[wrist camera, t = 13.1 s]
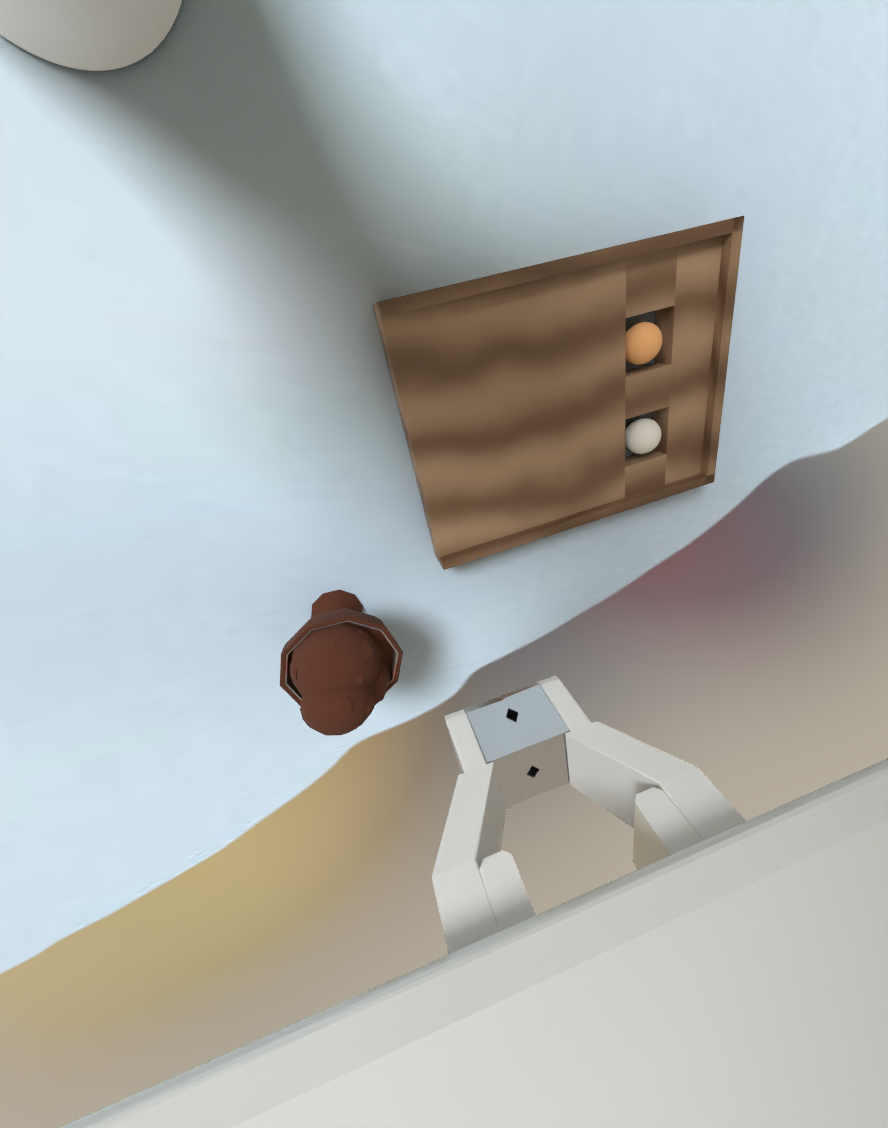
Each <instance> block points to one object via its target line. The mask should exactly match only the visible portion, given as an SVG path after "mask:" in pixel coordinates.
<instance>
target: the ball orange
mask: <svg viewBox="0 0 888 1128" xmlns="http://www.w3.org/2000/svg"><path fill="white" fill-rule="evenodd" d="M661 346H662V333H661V331H660V329H659V328H658V327H657V326H656V325H655V324H653V323H650V322H640V323H637V324H635V325H633V326H632V327H630V328H629V329H628V330H627V332H626V361H628V362H629V363H631V364H636V365H639V364H644V363H647V362H649V361H650V360H652V359H653V358H654V357H655V356H656V355H657V354H658V352H659V351H660V348H661Z"/></svg>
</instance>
